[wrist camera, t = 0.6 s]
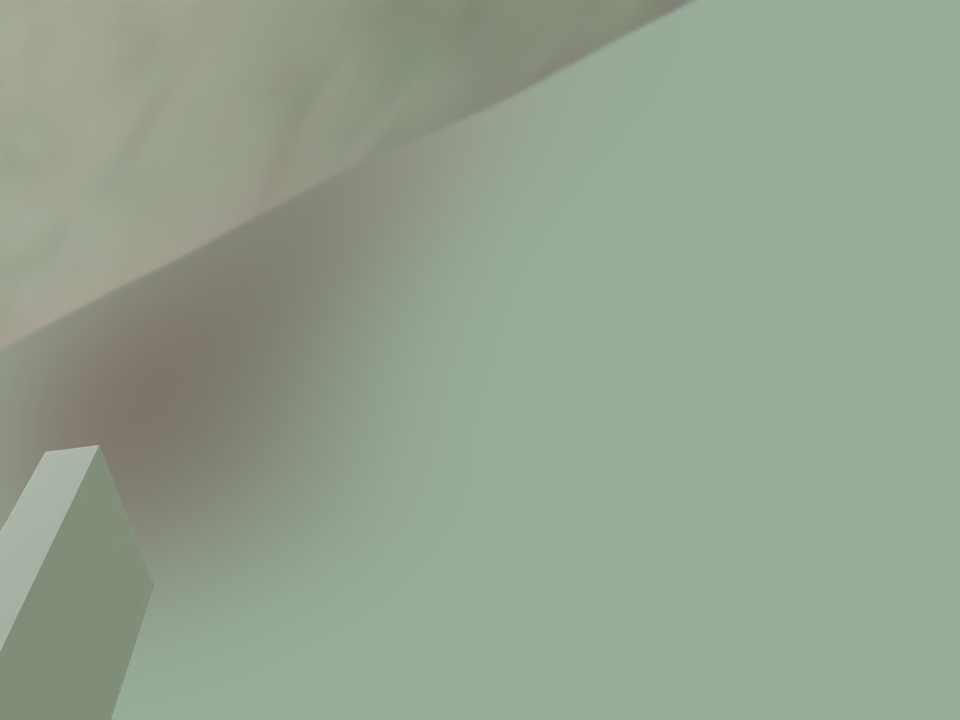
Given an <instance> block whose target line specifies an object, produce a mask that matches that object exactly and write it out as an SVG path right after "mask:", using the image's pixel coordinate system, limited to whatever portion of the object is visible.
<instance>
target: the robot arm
mask: <svg viewBox="0 0 960 720" xmlns="http://www.w3.org/2000/svg"><path fill="white" fill-rule="evenodd" d="M153 586H154V585H153V582H152V579H151V577H150V574H149V572H148V569H147V567H146V564H145V562H144V559H143V556H142V554H141V551H140V549H139V546H138V544H137V541H136V538H135V536H134V533H133V531H132V528H131V526H130V523H129V520H128V518H127V515H126V513H125V510H124V508H123V505H122V502H121V500H120V497H119V495H118V492H117V490H116V487H115V484H114V482H113V480H112V477H111V474H110V472H109V469H108V467H107V464H106V462H105V459H104V456H103V454H102V451H101V449H100V446H99V445H97V446H89V447H81V448H73V449H65V450H57V451H48V452H45V454H44V455H43V457H42V459H41V461H40V462H39V464H38V466H37V468H36V469H35V471H34V473H33V475H32V477H31V479H30V480H29V482H28V484H27V485H26V487H25V489H24V491H23V493H22V494H21V496H20V498H19V500H18V502H17V503H16V505H15V507H14V509H13V511H12V512H11V514H10V516H9V518H8V519H7V521H6V523H5V525H4V527H3V528H2V530H1V532H0V720H111V717H112V714H113V711H114V708H115V705H116V701H117V699H118V695H119V692H120V689H121V686H122V683H123V680H124V677H125V674H126V670H127V667H128V664H129V661H130V658H131V655H132V652H133V649H134V645H135V642H136V639H137V636H138V633H139V630H140V626H141V623H142V620H143V617H144V614H145V611H146V608H147V605H148V601H149V598H150V595H151V592H152V589H153Z"/></svg>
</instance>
